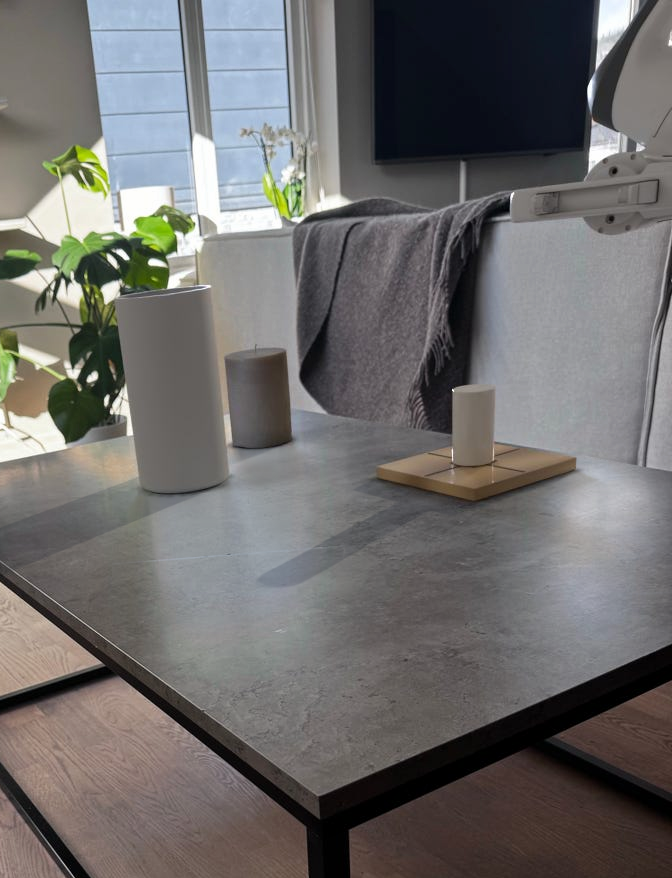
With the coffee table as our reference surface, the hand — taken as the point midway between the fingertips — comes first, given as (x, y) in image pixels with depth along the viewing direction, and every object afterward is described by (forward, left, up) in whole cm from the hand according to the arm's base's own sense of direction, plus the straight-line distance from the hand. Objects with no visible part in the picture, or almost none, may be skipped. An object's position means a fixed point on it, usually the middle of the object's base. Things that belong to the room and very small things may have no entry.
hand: (579, 200), depth 99 cm
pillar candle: (+40, -30, -30) cm, 58 cm away
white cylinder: (+11, -2, -28) cm, 30 cm away
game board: (+11, -2, -30) cm, 32 cm away
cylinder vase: (+49, -8, -30) cm, 58 cm away
